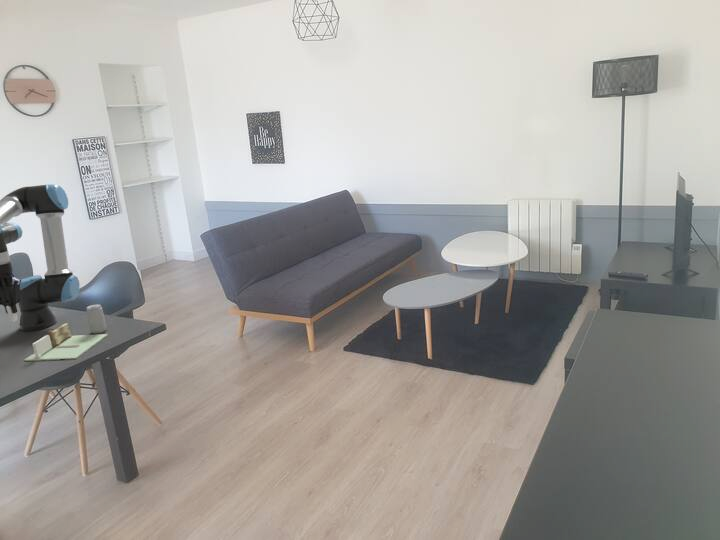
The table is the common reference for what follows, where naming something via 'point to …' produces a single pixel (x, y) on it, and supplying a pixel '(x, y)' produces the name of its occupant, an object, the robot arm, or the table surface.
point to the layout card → (70, 348)
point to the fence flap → (42, 346)
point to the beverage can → (96, 319)
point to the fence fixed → (59, 334)
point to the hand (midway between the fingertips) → (14, 320)
